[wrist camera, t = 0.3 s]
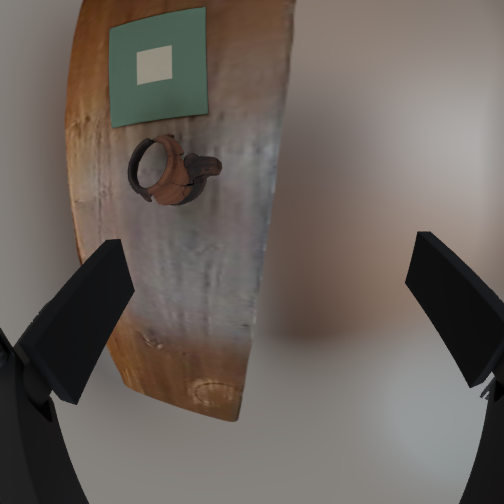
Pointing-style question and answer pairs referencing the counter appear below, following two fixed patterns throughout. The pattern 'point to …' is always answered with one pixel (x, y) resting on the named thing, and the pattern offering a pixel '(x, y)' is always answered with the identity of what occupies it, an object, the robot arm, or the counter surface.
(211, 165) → the broken pottery ring
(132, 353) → the counter surface
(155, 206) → the counter surface
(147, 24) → the centre mat
